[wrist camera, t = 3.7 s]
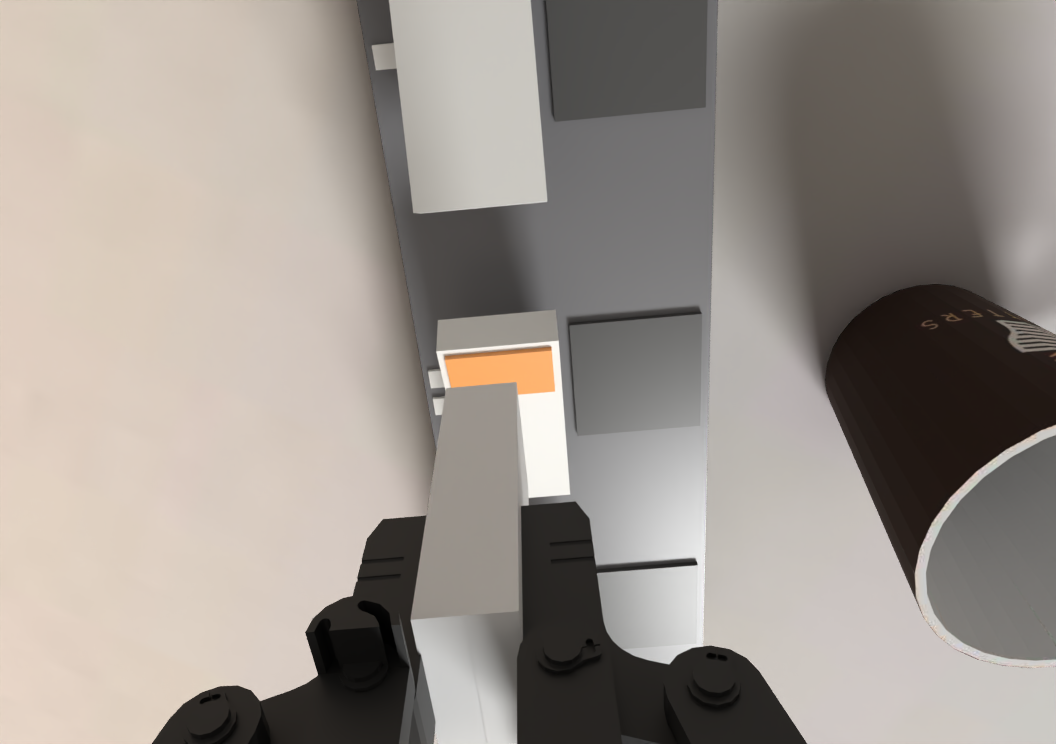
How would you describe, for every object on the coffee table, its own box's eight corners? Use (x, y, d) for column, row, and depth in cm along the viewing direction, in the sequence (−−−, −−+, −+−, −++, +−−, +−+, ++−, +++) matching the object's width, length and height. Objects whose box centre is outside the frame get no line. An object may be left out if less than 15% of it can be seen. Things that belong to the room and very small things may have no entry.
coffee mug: (746, 383, 29) (845, 574, 20) (933, 203, 26) (1147, 336, 17) (943, 532, 33) (1100, 749, 24) (1129, 389, 29) (1391, 578, 21)
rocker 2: (437, 319, 21) (435, 355, 20) (555, 309, 21) (559, 344, 20) (472, 472, 26) (471, 505, 25) (567, 464, 26) (570, 498, 25)
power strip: (360, -115, 21) (326, -128, 18) (691, -150, 21) (731, -171, 17) (501, 742, 39) (499, 830, 35) (684, 729, 38) (703, 817, 34)
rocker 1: (387, -88, 19) (375, -111, 17) (521, -102, 18) (520, -127, 17) (420, 213, 20) (412, 213, 19) (547, 201, 20) (547, 200, 18)
